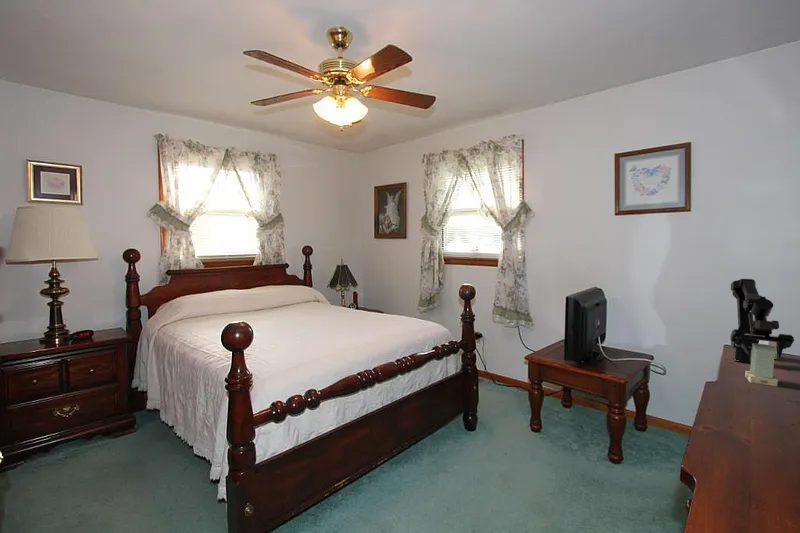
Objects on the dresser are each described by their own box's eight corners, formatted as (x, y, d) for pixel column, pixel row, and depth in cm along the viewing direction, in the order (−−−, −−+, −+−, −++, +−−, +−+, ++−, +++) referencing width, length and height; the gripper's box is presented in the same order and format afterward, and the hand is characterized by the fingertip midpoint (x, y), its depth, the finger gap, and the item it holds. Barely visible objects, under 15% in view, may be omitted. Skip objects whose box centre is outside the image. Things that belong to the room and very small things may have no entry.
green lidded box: (749, 371, 166) (752, 343, 165) (767, 374, 163) (770, 345, 162) (754, 375, 161) (757, 346, 160) (772, 378, 158) (775, 348, 157)
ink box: (777, 360, 191) (780, 329, 189) (767, 359, 191) (769, 329, 189) (761, 354, 199) (764, 325, 198) (751, 354, 199) (754, 324, 198)
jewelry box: (744, 377, 168) (745, 370, 167) (770, 381, 164) (771, 373, 164) (750, 383, 160) (750, 376, 160) (777, 387, 157) (778, 380, 156)
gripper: (734, 310, 168) (738, 342, 159) (794, 315, 159) (802, 349, 150) (728, 325, 175) (732, 356, 167) (786, 330, 166) (793, 364, 158)
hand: (763, 356), depth 160 cm, fingers open, 9 cm apart
